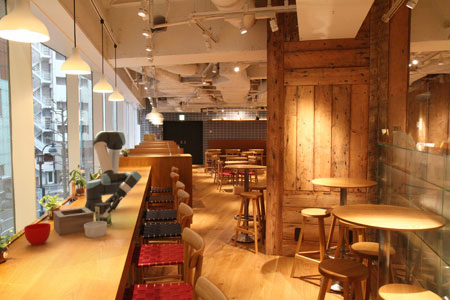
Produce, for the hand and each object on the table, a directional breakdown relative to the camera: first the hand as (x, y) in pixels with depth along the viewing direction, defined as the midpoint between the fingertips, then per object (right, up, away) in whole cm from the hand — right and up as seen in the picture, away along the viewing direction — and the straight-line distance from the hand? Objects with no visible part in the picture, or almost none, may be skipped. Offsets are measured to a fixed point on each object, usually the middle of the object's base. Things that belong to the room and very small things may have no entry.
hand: (101, 214), depth 235 cm
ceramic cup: (-22, -9, -37) cm, 44 cm away
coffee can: (+1, -7, +1) cm, 7 cm away
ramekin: (+5, -8, -23) cm, 25 cm away
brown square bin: (-14, -8, -10) cm, 19 cm away
